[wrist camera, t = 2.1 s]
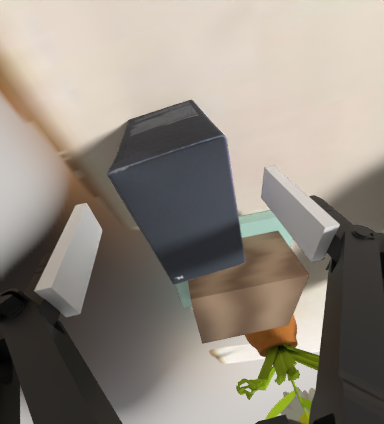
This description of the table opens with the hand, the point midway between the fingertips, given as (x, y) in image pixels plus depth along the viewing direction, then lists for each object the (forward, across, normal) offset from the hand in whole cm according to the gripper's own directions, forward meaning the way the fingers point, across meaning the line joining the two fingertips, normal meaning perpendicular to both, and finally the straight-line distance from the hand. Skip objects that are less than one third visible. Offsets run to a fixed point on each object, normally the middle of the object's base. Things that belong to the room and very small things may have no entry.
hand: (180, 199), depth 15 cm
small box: (+7, -1, 0) cm, 7 cm away
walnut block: (+5, -6, +18) cm, 20 cm away
